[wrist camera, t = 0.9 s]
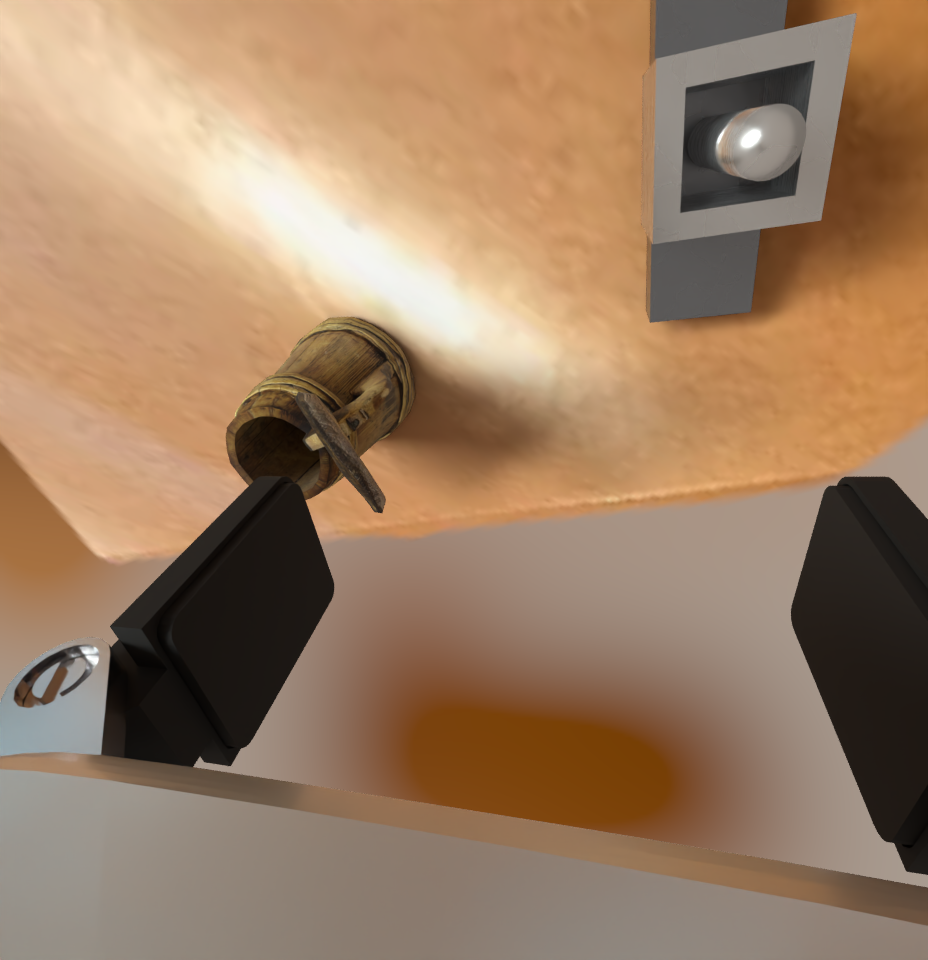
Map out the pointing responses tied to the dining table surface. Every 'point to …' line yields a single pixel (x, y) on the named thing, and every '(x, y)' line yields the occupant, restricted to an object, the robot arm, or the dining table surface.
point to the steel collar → (789, 80)
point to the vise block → (718, 157)
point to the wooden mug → (324, 410)
